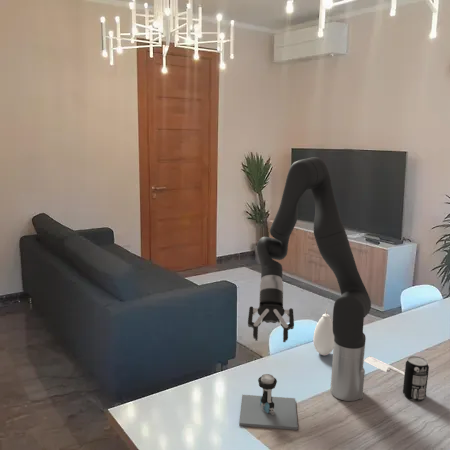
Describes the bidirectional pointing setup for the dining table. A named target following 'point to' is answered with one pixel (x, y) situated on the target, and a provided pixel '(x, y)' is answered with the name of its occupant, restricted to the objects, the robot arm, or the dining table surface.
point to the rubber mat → (260, 418)
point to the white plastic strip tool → (382, 365)
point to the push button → (267, 392)
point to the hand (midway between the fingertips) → (270, 340)
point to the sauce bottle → (324, 335)
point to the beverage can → (415, 378)
